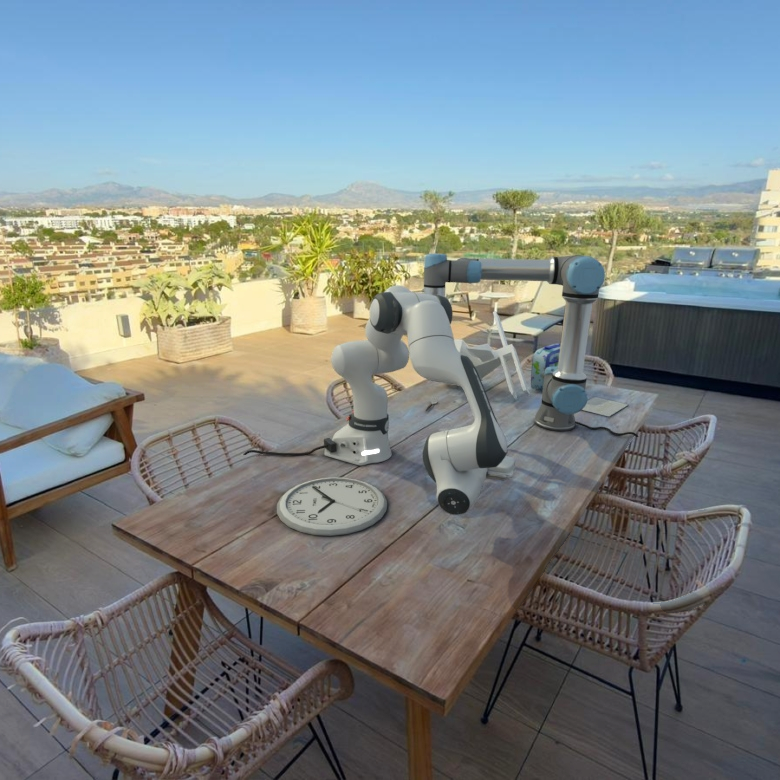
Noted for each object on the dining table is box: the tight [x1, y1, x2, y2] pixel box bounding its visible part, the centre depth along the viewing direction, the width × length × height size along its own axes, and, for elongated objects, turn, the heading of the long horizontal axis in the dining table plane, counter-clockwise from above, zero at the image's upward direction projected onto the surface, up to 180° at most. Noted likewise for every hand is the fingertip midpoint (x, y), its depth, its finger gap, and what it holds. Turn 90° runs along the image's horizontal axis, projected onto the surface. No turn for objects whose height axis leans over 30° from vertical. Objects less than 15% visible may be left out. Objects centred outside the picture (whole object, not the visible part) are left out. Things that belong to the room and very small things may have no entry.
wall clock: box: [276, 476, 388, 537], centre depth 142 cm, size 30×2×30 cm
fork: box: [425, 396, 439, 412], centre depth 222 cm, size 3×16×2 cm, turn 160°
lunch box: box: [530, 343, 561, 391], centre depth 249 cm, size 26×11×21 cm, turn 134°
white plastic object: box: [443, 310, 531, 400], centre depth 245 cm, size 37×45×31 cm
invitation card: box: [581, 396, 629, 418], centre depth 226 cm, size 21×1×15 cm
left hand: (478, 450), depth 138 cm, fingers open, 8 cm apart
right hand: (431, 358), depth 189 cm, fingers open, 13 cm apart
